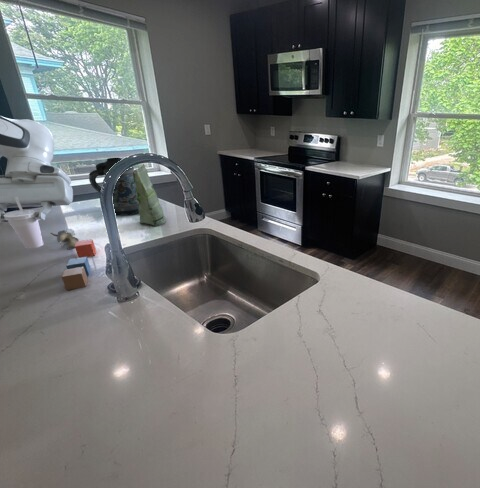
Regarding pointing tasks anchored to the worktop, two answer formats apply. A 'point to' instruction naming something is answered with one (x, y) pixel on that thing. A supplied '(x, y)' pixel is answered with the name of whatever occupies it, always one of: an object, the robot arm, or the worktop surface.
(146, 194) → the pouch
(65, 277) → the block row
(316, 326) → the worktop surface
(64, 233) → the eagle figurine
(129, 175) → the beer stein
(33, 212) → the smoothie
